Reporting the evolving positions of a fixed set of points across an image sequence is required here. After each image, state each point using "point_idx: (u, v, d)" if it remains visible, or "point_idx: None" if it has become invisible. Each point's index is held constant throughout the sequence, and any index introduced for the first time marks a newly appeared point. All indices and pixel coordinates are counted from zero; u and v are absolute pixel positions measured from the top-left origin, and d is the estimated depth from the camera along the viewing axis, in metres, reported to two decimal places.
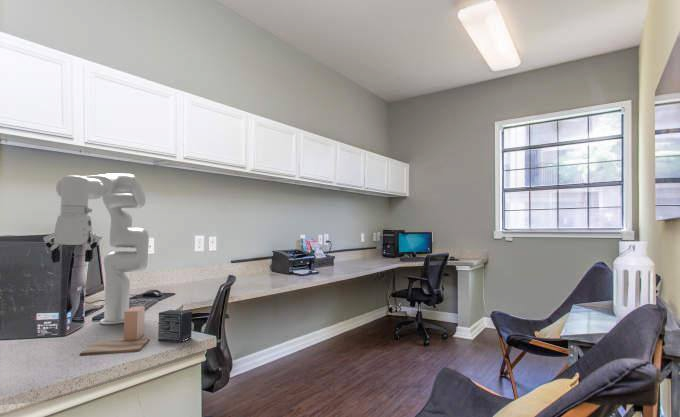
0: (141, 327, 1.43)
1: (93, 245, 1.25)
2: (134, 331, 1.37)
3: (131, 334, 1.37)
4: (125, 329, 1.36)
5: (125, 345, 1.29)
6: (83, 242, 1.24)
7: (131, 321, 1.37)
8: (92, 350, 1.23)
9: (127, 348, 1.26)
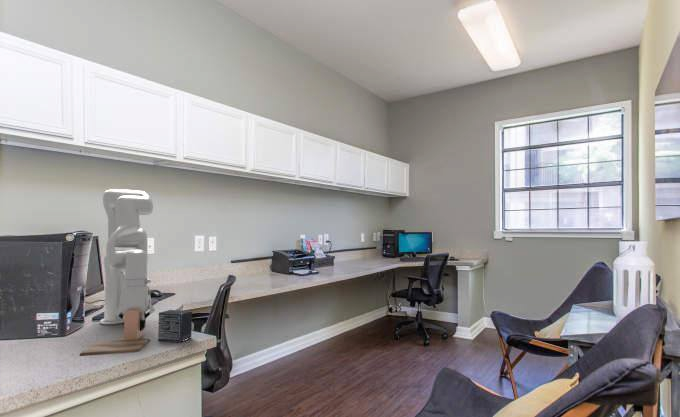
0: None
1: (146, 315, 1.42)
2: (134, 330, 1.37)
3: (131, 334, 1.37)
4: (125, 329, 1.37)
5: (125, 345, 1.29)
6: (144, 310, 1.41)
7: (131, 321, 1.37)
8: (92, 350, 1.23)
9: (127, 348, 1.26)
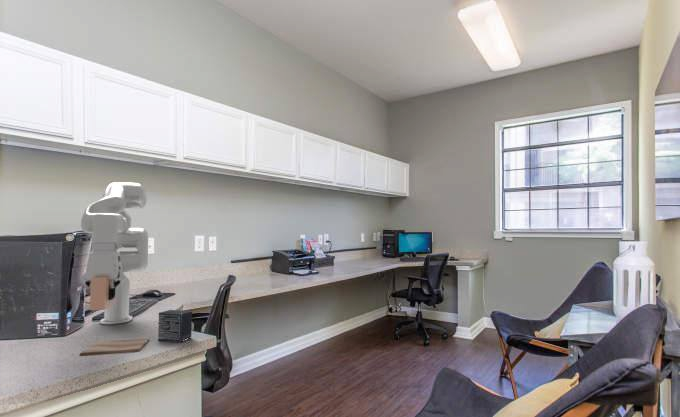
0: None
1: (116, 283, 1.29)
2: (101, 299, 1.25)
3: (98, 303, 1.25)
4: (92, 297, 1.24)
5: (125, 345, 1.29)
6: (114, 277, 1.28)
7: (98, 288, 1.25)
8: (92, 350, 1.23)
9: (127, 348, 1.26)
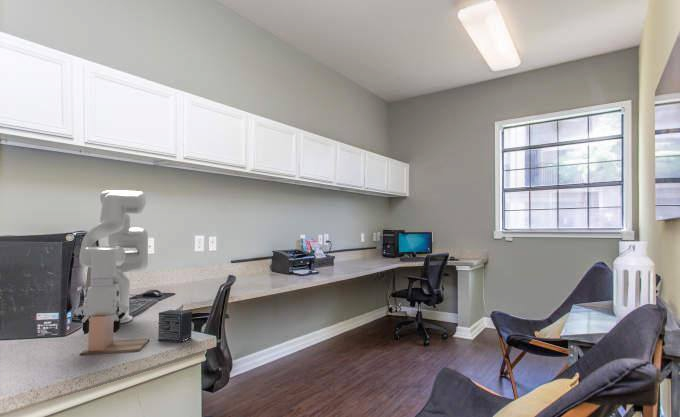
0: (109, 335, 1.30)
1: (121, 316, 1.29)
2: (100, 339, 1.24)
3: (97, 343, 1.24)
4: (90, 337, 1.23)
5: (125, 345, 1.29)
6: (112, 313, 1.27)
7: (97, 328, 1.24)
8: None
9: (127, 348, 1.26)
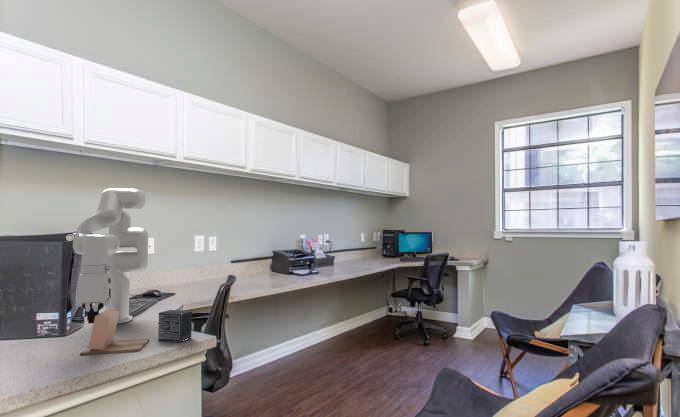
0: (111, 335, 1.30)
1: (99, 306, 1.28)
2: (102, 338, 1.24)
3: (98, 342, 1.24)
4: (92, 335, 1.24)
5: (125, 345, 1.29)
6: (104, 300, 1.27)
7: (101, 327, 1.24)
8: (92, 350, 1.23)
9: (127, 348, 1.26)
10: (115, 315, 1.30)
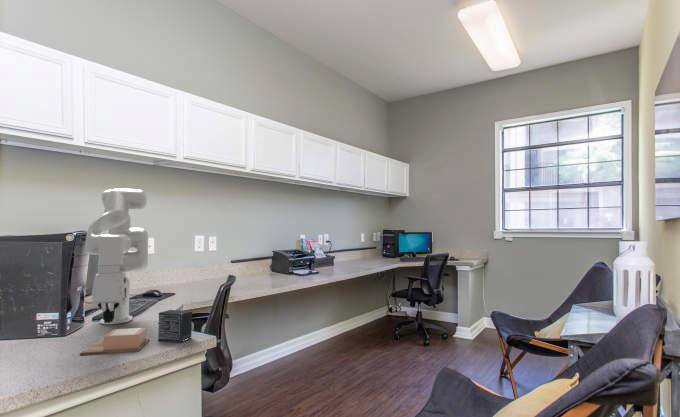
0: None
1: (115, 306, 1.29)
2: (115, 346, 1.25)
3: (111, 343, 1.25)
4: (117, 337, 1.25)
5: None
6: (119, 300, 1.28)
7: (126, 342, 1.26)
8: (92, 350, 1.23)
9: (127, 348, 1.26)
10: None
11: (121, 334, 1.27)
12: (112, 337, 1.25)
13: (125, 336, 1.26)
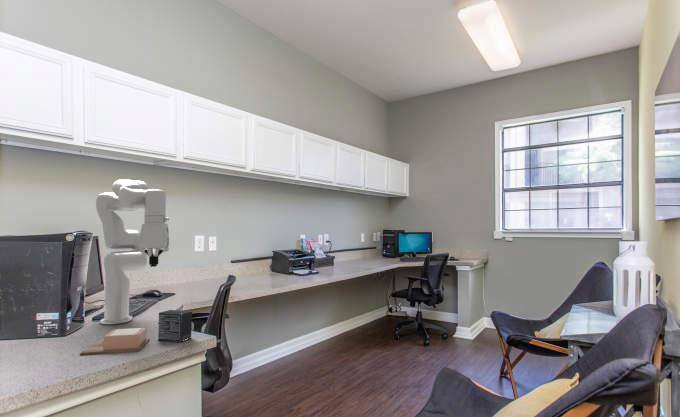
0: None
1: (159, 252, 1.45)
2: (115, 346, 1.25)
3: (111, 343, 1.25)
4: (117, 337, 1.25)
5: None
6: (163, 246, 1.44)
7: (126, 342, 1.26)
8: (92, 350, 1.23)
9: (127, 348, 1.26)
10: None
11: (121, 334, 1.27)
12: (112, 337, 1.25)
13: (125, 336, 1.26)
